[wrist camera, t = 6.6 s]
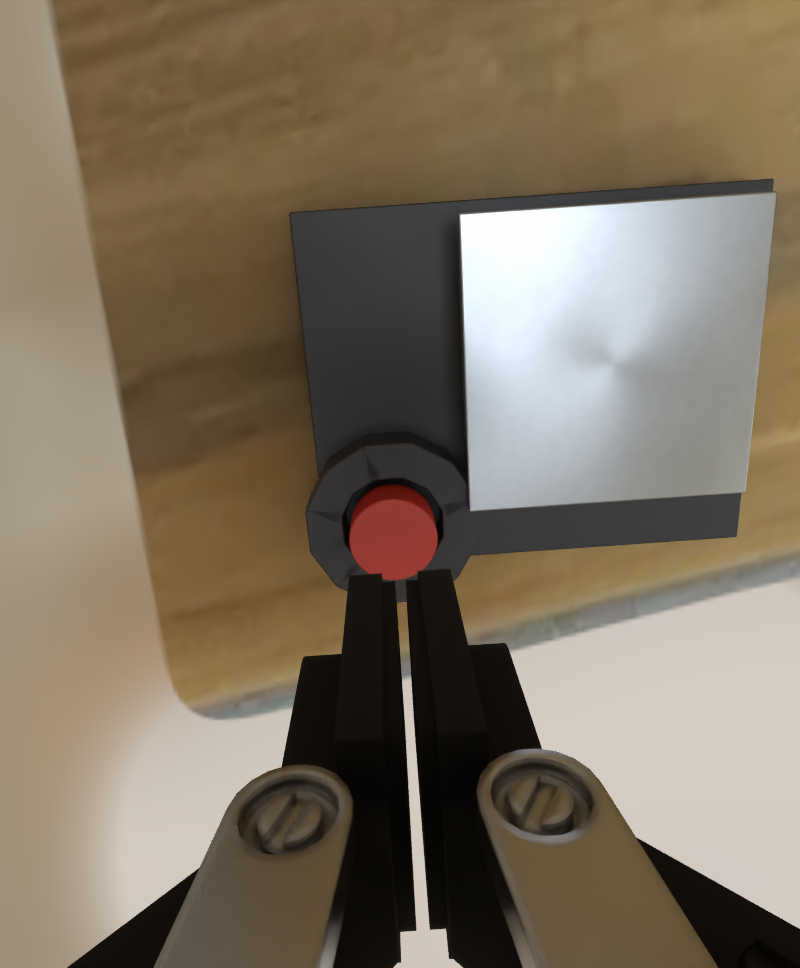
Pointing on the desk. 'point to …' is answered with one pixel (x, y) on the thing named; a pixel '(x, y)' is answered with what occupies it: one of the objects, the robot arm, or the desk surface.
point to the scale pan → (612, 348)
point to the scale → (435, 387)
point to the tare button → (393, 532)
